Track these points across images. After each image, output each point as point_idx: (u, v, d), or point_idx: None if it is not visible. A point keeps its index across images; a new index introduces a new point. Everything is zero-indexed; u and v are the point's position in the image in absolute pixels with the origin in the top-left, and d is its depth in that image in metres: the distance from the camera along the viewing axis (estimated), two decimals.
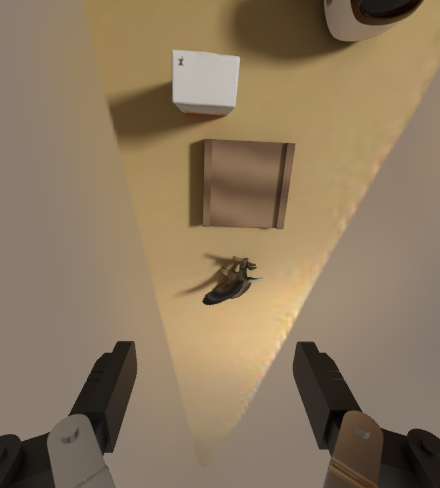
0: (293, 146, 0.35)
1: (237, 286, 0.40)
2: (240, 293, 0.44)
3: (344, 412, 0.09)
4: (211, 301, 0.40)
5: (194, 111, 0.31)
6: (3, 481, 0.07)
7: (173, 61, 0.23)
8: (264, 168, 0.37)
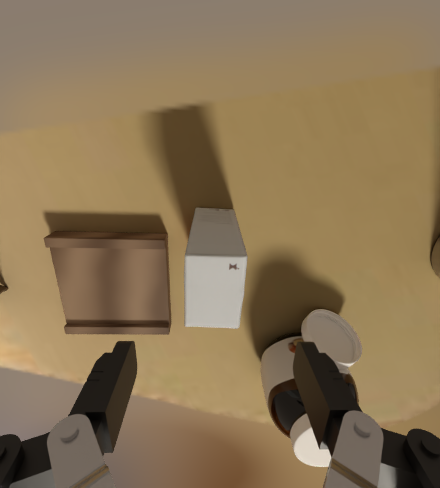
0: (165, 333, 0.31)
1: None
2: None
3: (344, 412, 0.09)
4: None
5: None
6: (4, 481, 0.07)
7: (233, 257, 0.17)
8: (138, 305, 0.30)
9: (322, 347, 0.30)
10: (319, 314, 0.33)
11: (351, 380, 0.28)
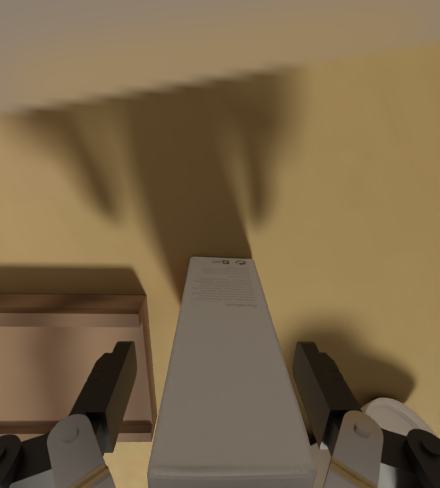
0: (146, 440, 0.21)
1: None
2: None
3: (344, 412, 0.09)
4: None
5: None
6: (4, 481, 0.07)
7: (281, 477, 0.06)
8: None
9: None
10: None
11: None
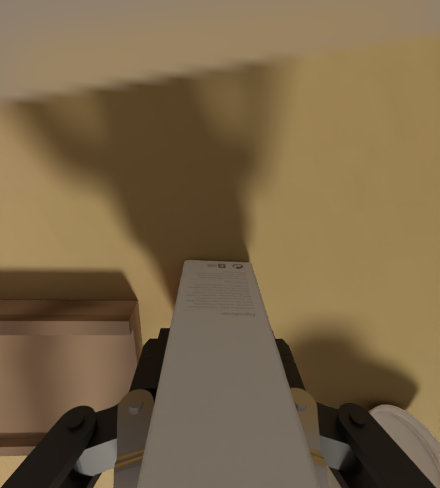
0: None
1: None
2: None
3: None
4: None
5: None
6: (76, 450, 0.08)
7: None
8: None
9: None
10: None
11: None
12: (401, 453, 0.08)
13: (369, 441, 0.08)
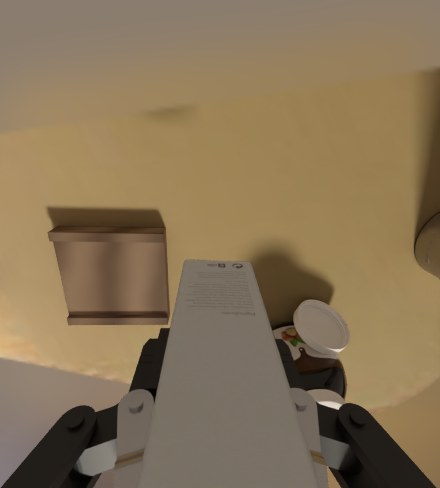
0: (164, 323, 0.33)
1: None
2: None
3: None
4: None
5: None
6: (76, 450, 0.08)
7: None
8: (138, 296, 0.32)
9: (313, 335, 0.32)
10: (310, 304, 0.35)
11: (340, 364, 0.30)
12: (401, 453, 0.08)
13: (369, 441, 0.08)
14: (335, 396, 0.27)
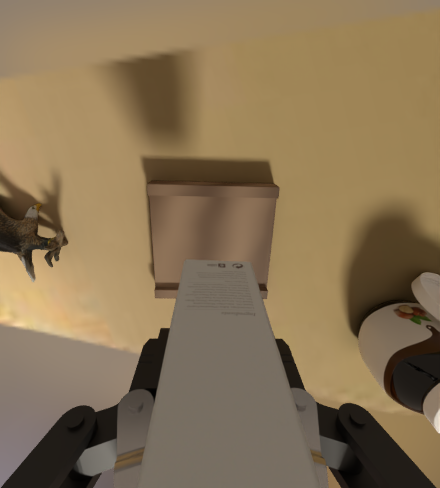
0: (263, 297, 0.29)
1: (6, 241, 0.23)
2: None
3: None
4: None
5: None
6: (76, 450, 0.08)
7: None
8: None
9: None
10: (425, 278, 0.30)
11: None
12: (401, 453, 0.08)
13: (369, 441, 0.08)
14: None
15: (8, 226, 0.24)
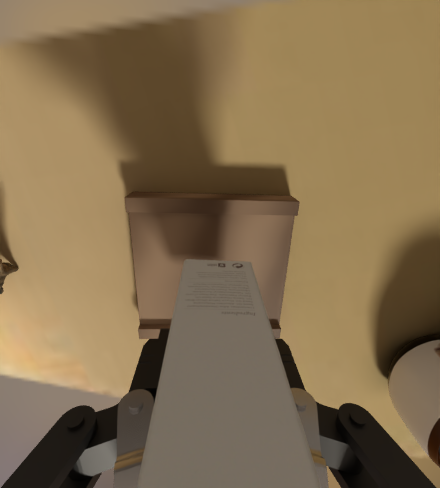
0: (275, 336, 0.23)
1: None
2: None
3: None
4: None
5: None
6: (76, 450, 0.08)
7: None
8: None
9: None
10: None
11: None
12: (401, 452, 0.08)
13: (369, 441, 0.08)
14: None
15: None
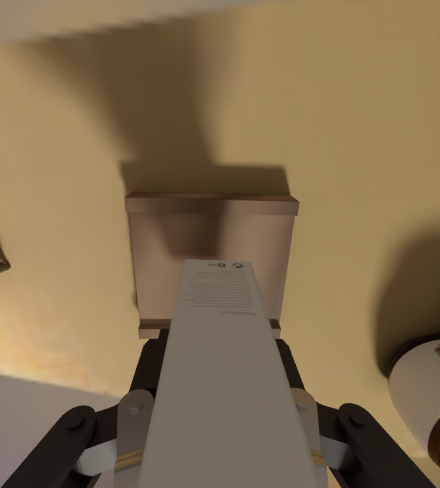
0: (275, 336, 0.23)
1: None
2: None
3: None
4: None
5: None
6: (76, 450, 0.08)
7: None
8: None
9: None
10: None
11: None
12: (401, 452, 0.08)
13: (369, 441, 0.08)
14: None
15: None
